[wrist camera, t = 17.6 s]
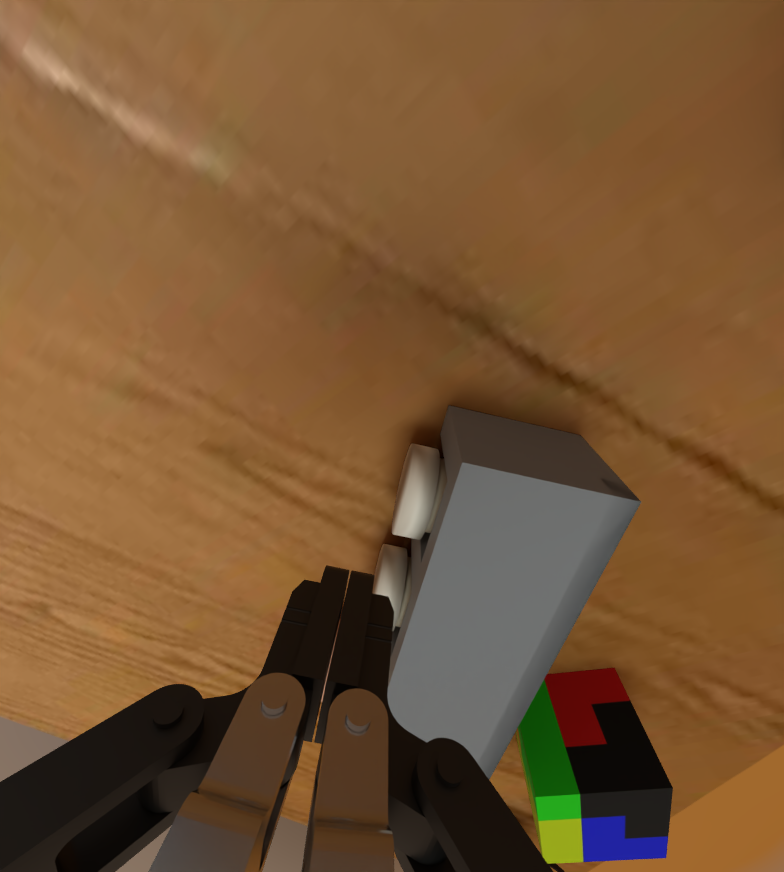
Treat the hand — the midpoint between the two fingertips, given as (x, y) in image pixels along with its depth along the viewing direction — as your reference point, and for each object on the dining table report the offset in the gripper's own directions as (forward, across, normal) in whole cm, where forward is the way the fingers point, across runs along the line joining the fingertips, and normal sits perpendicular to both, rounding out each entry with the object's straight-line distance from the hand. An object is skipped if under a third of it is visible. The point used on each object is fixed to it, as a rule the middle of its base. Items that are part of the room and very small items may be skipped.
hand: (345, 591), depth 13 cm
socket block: (+20, -9, +15) cm, 26 cm away
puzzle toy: (+20, -23, +29) cm, 42 cm away
